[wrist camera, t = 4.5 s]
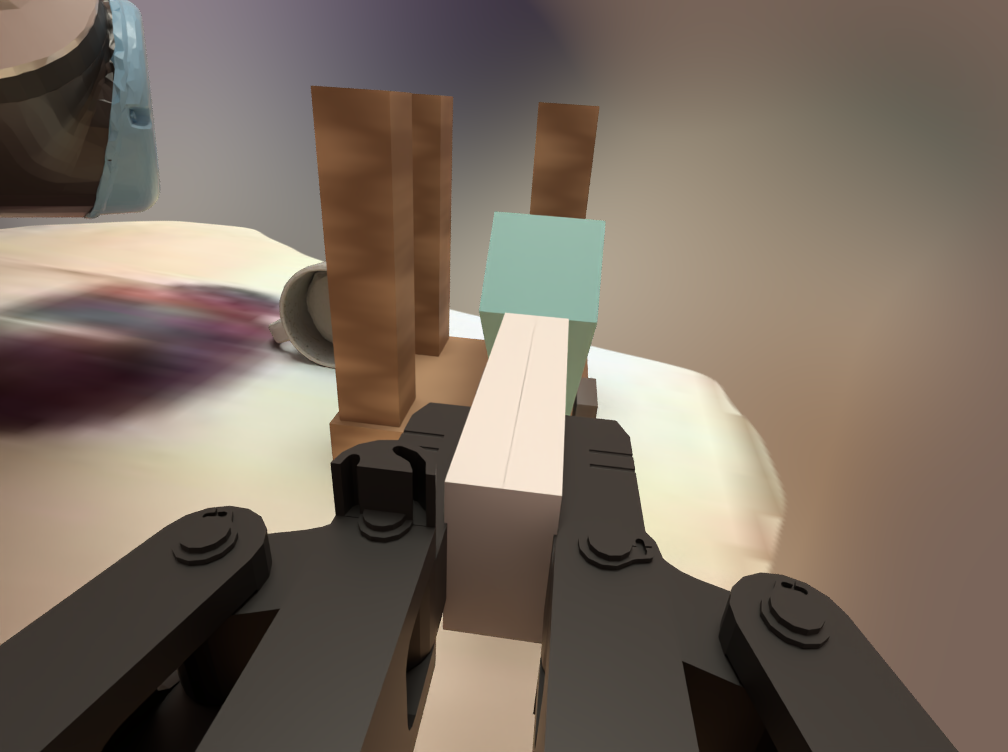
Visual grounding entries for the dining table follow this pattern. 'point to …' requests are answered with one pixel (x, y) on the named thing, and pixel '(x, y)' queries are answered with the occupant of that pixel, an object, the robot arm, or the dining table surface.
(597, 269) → the hinged leg
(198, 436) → the dining table surface
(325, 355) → the ceramic mug
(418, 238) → the upturned wooden stool
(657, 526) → the dining table surface
